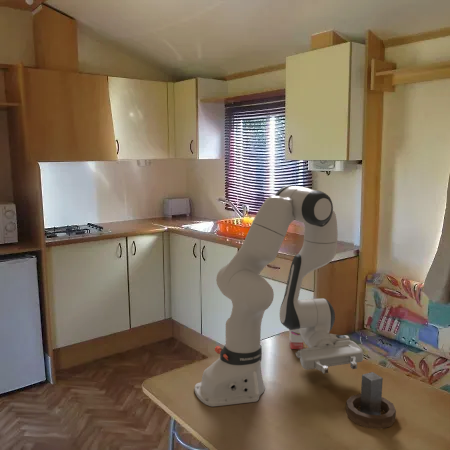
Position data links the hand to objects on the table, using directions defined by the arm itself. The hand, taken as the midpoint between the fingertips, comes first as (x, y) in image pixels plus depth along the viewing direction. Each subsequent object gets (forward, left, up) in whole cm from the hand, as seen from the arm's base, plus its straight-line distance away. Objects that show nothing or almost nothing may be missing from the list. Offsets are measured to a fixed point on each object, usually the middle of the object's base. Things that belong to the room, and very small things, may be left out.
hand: (340, 369), depth 145 cm
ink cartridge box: (+9, +39, -10) cm, 42 cm away
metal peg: (+2, -12, -9) cm, 15 cm away
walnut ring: (+2, -12, -9) cm, 15 cm away
